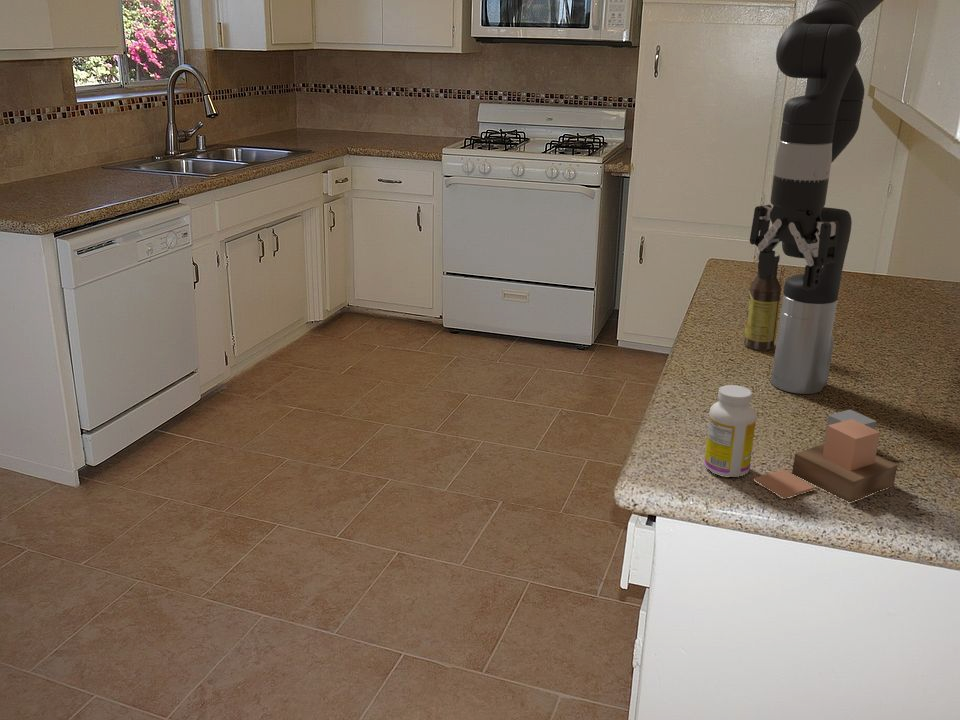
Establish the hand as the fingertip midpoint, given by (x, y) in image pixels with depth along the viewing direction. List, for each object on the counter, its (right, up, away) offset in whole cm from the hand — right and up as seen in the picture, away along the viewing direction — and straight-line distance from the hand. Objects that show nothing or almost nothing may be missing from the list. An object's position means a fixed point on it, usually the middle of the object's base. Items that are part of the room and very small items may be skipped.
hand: (786, 282), depth 131 cm
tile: (-2, -30, -4) cm, 30 cm away
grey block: (+13, -26, +8) cm, 30 cm away
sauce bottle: (+12, -9, +51) cm, 54 cm away
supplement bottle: (-9, -28, +1) cm, 30 cm away
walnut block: (+7, -30, -2) cm, 31 cm away
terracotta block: (+8, -26, -4) cm, 28 cm away
